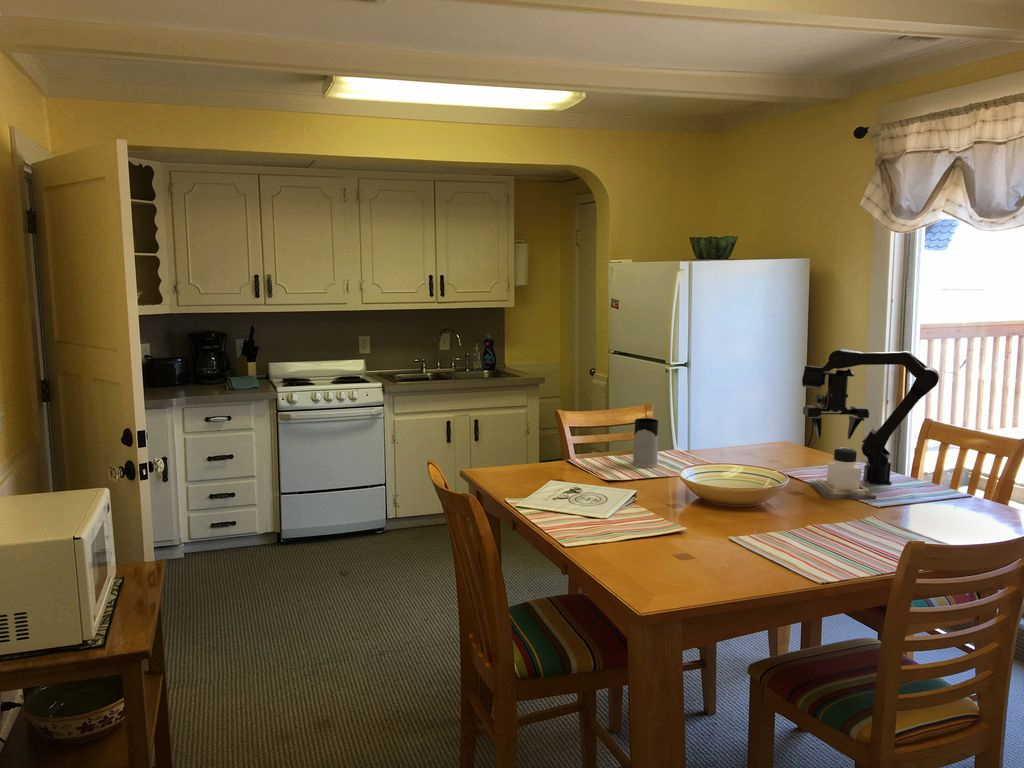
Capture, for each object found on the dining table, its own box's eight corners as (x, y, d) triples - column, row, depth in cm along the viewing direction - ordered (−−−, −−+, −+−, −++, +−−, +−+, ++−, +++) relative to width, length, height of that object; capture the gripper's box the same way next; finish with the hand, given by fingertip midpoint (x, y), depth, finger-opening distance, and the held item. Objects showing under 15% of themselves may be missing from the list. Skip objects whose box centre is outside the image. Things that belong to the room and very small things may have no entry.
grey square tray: (857, 486, 248) (858, 479, 248) (875, 499, 234) (876, 492, 234) (810, 485, 249) (811, 478, 249) (825, 498, 235) (826, 490, 235)
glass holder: (629, 467, 268) (631, 421, 266) (636, 457, 282) (637, 414, 280) (656, 469, 266) (658, 423, 264) (661, 459, 279) (663, 415, 277)
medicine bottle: (859, 492, 238) (862, 451, 236) (835, 492, 238) (837, 451, 236) (850, 485, 245) (853, 446, 243) (826, 485, 245) (828, 446, 243)
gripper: (858, 386, 264) (854, 433, 266) (799, 385, 264) (796, 432, 267) (871, 391, 253) (867, 441, 255) (809, 390, 253) (806, 440, 256)
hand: (833, 438), depth 258 cm, fingers open, 9 cm apart
